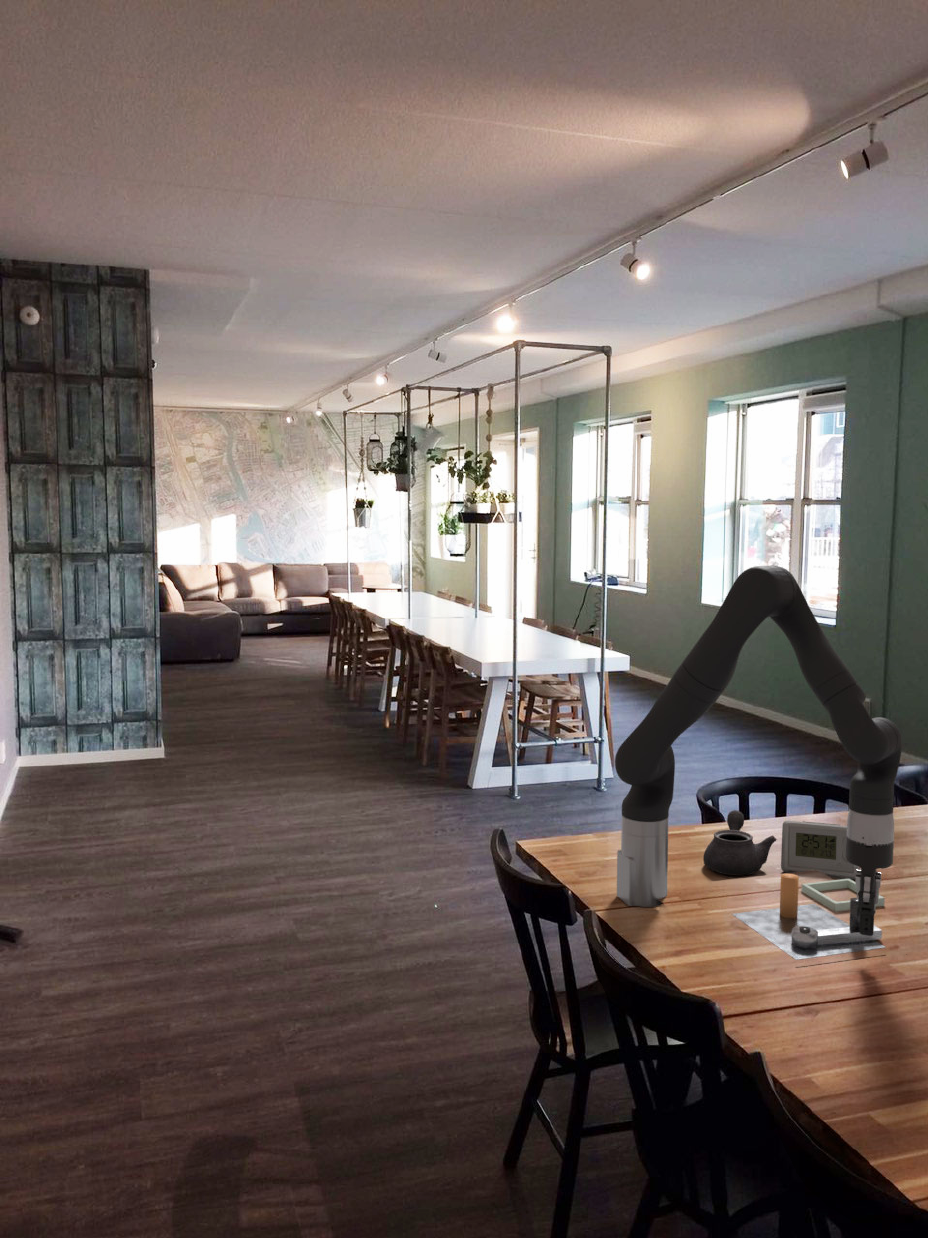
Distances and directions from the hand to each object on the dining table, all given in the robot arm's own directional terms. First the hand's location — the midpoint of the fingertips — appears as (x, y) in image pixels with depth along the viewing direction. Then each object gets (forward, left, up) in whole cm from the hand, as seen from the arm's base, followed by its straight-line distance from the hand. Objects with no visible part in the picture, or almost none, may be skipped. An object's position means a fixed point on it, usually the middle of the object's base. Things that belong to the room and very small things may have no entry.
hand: (866, 933), depth 177 cm
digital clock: (+19, +40, -6) cm, 45 cm away
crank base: (-4, +12, -5) cm, 14 cm away
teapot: (+5, +51, -6) cm, 51 cm away
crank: (-2, +6, -3) cm, 7 cm away
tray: (+12, +23, -5) cm, 27 cm away
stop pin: (-3, +19, -4) cm, 20 cm away
